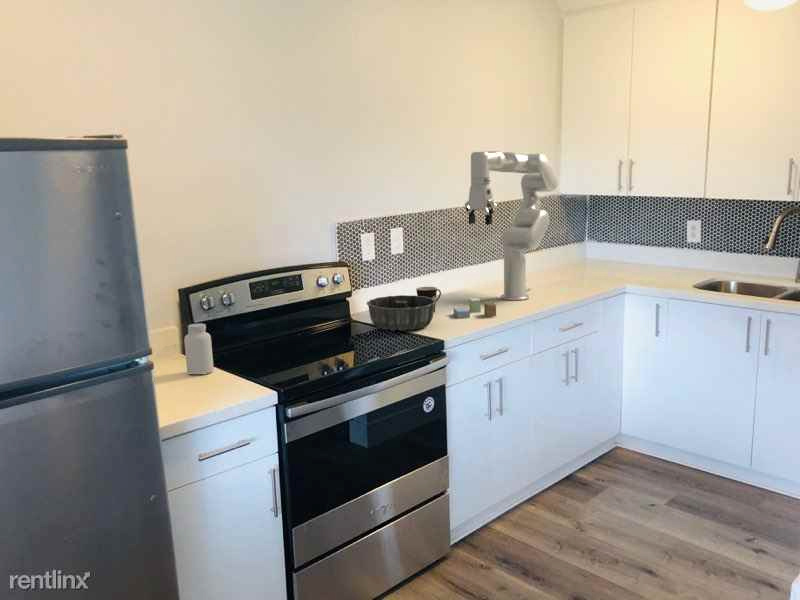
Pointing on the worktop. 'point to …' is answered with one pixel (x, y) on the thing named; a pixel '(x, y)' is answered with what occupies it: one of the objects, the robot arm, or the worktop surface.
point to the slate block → (462, 312)
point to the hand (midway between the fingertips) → (480, 224)
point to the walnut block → (489, 309)
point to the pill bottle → (198, 350)
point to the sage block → (475, 304)
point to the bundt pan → (401, 312)
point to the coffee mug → (428, 293)
